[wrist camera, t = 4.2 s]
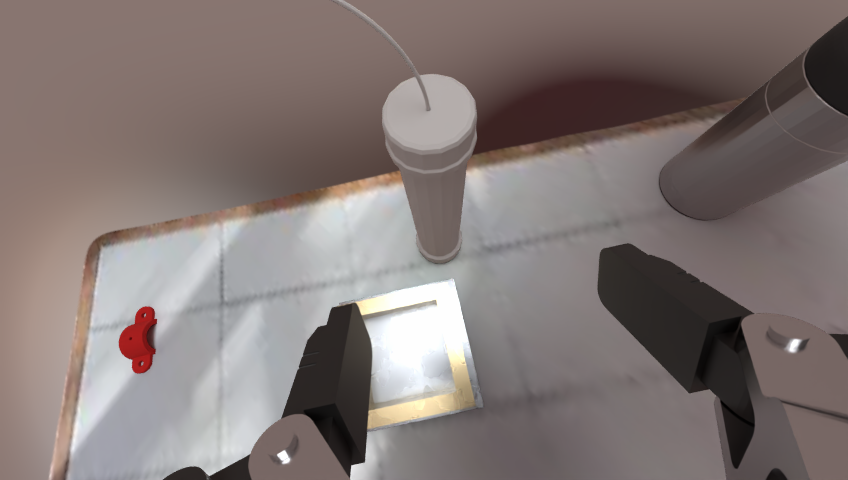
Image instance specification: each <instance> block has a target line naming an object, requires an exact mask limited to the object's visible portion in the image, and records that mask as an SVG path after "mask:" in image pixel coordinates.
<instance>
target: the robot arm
mask: <svg viewBox="0 0 848 480" xmlns="http://www.w3.org/2000/svg"><path fill="white" fill-rule="evenodd" d="M846 161H848V17H846V18H845V19H844V20H842V21H841V22H840V23H838V24H837V25H836V26H834V27H833V28H832V29H831V30H830V31H828V32H827V33H826V34H825V35H823V36H822V37H821V38H820V39H818V40H817V41H816V42H815V43H814V44H813V45H811V46H810V47H809V48H807V49H806V50H805V51H804V52H803V53H801V54H800V55H799V56H798V57H796V58H795V59H794V60H793V61H792V62H790V63H789V64H788V65H787V66H785V67H784V68H783V69H782V70H781V71H779V72H778V73H777V74H776V75H775V76H773V77H772V78H771V79H770V80H769V81H768V82H766V83H765V84H764V85H762V86H761V87H760V88H759V89H757V90H756V91H755V92H754V93H753V94H751V95H750V96H749V97H748V98H746V99H745V100H744V101H743V102H742V103H740V104H739V105H738V106H737V107H735V108H734V109H733V110H732V111H730V112H729V113H728V114H727V115H726V116H724V117H723V118H722V119H721V120H719V121H718V122H717V123H716V124H715V125H713V126H712V127H711V128H710V129H708V130H707V131H706V132H705V133H704V134H702V135H701V136H700V137H699V138H697V139H696V140H695V141H694V142H692V143H691V144H690V145H689V146H687V147H686V148H685V149H684V150H683V151H681V152H680V153H679V154H678V155H676V156H675V157H674V158H673V159H672V160H670V161H669V162H668V163H667V164H666V165H665V166H664V168H663V169H662V171H661V174H660V188H661V190H662V193H663V195H664V196H665V198H666V199H667V201H668V202H669V203H670V204H671V205H672V206H673V207H674V208H675V209H677V210H678V211H679V212H681V213H683V214H685V215H687V216H690V217H693V218H696V219H702V220H714V219H719V218H722V217H724V216H726V215H729V214H731V213H733V212H735V211H737V210H740V209H742V208H744V207H746V206H749V205H751V204H753V203H756V202H758V201H760V200H762V199H764V198H767V197H769V196H771V195H773V194H775V193H778V192H780V191H782V190H784V189H786V188H789V187H791V186H793V185H795V184H797V183H800V182H802V181H804V180H806V179H809V178H811V177H813V176H815V175H817V174H820V173H822V172H824V171H826V170H828V169H831V168H833V167H835V166H837V165H839V164H842V163H844V162H846ZM598 294H599V298H600V300H601V302H602V304H603V305H604V306H605V307H606V309H607V310H608V311H609V312H610V313H611V314H612V315H613V316H614V317H615V318H616V319H617V320H618V321H619V322H620V323H621V324H622V325H623V326H624V327H625V328H626V329H627V330H628V331H629V332H630V333H631V334H632V335H633V336H634V337H635V338H636V339H637V340H638V341H639V342H640V343H641V344H642V345H643V346H644V347H645V348H646V350H647V351H648V352H649V353H650V354H651V355H652V356H653V357H654V358H655V359H656V360H657V361H658V362H659V363H660V364H661V365H662V366H663V367H664V368H665V369H666V370H667V371H668V372H669V373H670V374H671V375H672V376H673V377H674V378H675V379H676V380H677V381H678V382H679V383H680V384H681V385H682V386H683V387H684V388H685V389H686V390H687V391H688V393H693V392H698V391H703V390H707V389H710V390H711V391H712V392H713V393H714V394H715V395H716V398H715V401H714V408H715V414H716V420H717V426H718V431H719V437H720V443H721V449H722V455H723V461H724V467H725V473H726V480H848V335H847V334H827V333H826V332H825V331H823V330H821V329H820V328H818V327H816V326H814V325H812V324H810V323H807V322H805V321H802V320H799V319H796V318H793V317H789V316H784V315H779V314H771V313H758V314H754V313H752V312H751V311H749V310H748V309H746V308H744V307H743V306H741V305H739V304H738V303H736V302H735V301H733V300H731V299H730V298H728V297H727V296H725V295H723V294H722V293H720V292H718V291H717V290H715V289H714V288H712V287H710V286H709V285H707V284H706V283H704V282H700V280H699V279H698V278H696V277H694V276H693V275H691V274H687V273H686V271H685V270H683V269H681V268H680V267H678V266H677V265H675V264H673V263H672V262H670V261H667V260H664V259H661V258H658V257H655V256H653V255H647V254H646V253H644V252H643V251H641V250H640V249H638V248H637V247H635V246H633V245H632V244H628V243H627V244H622V245H618V246H613V247H609V248H604V249H602V250H601V252H600V258H599V273H598ZM372 358H373V353H372V344H371V340H370V336H369V334H368V331H367V328H366V326H365V323H364V320H363V318H362V315H361V312H360V309H359V307H358V305H357V304H356V303H351V304H346V305H342V306H337V307H333V308H332V309H331V311H330V315H329V318H328V322H327V325H325V326H320V327H318V328H317V329H316V330H315V332H314V333H313V334H312V335H311V337H310V338H309V339H308V341H307V344H306V347H305V350H304V353H303V357H302V359H301V362H300V365H299V369H298V370H297V373H296V376H295V379H294V382H293V385H292V388H291V391H290V394H289V397H288V400H287V403H286V406H285V409H284V412H283V415H282V418H281V419H280V420H278V421H277V422H275V423H274V424H273V425H271V426H270V427H269V428H268V429H267V430H266V431H265V432H264V433H263V434H262V435H261V436H260V438H259V439H258V440H257V442H256V444H255V445H254V447H253V449H252V451H251V454H250V455H248V456H246V457H245V458H243V459H241V460H239V461H237V462H235V463H233V464H232V465H230V466H228V467H226V468H224V469H222V470H220V471H218V472H216V473H215V474H213V475H211V476H208V475H207V474H206V473H205V472H204V471H203V470H202V469H201V468H199V467H186V468H183V469H180V470H178V471H176V472H174V473H172V474H170V475H169V476H167V477H166V478H164V479H163V480H350V472H351V465H354V464H359V463H364V462H365V453H366V440H367V426H368V412H369V399H370V385H371V372H372Z"/></svg>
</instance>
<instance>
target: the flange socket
mask: <svg viewBox="0 0 848 480" xmlns="http://www.w3.org/2000/svg"><path fill="white" fill-rule="evenodd" d="M351 303H356V304H357V305H358V307H359V309H360V312H361V315H362V318H363V320H364V323H365V326H366V328H367V331H368V334H369V336H370V340H371V344H372V353H373V358H372V372H371V385H370V399H369V412H368V426H367V432H370V431H375V430H379V429H384V428H389V427H393V426H398V425H402V424H407V423H412V422H416V421H421V420H426V419H430V418H435V417H440V416H444V415H449V414H453V413H458V412H463V411H467V410H472V409H477V408H481V407H484V404H483V400H482V396H481V392H480V387H479V383H478V379H477V375H476V371H475V366H474V362H473V358H472V354H471V350H470V346H469V341H468V337H467V333H466V329H465V325H464V320H463V316H462V312H461V308H460V304H459V300H458V295H457V291H456V287H455V283H454V279H449V280H444V281H439V282H435V283H430V284H426V285H421V286H416V287H412V288H407V289H403V290H398V291H393V292H389V293H384V294H380V295H375V296H370V297H366V298H361V299H357V300H352V301H347V302H343V303H339V305H340V306H342V305H346V304H351Z"/></svg>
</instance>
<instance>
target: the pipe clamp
mask: <svg viewBox="0 0 848 480" xmlns="http://www.w3.org/2000/svg"><path fill="white" fill-rule="evenodd" d="M145 313H146V316H145V317H144V314H145ZM154 317H155V311H154V309H153V308H152V307H142V308H141V309H139V310H138V312H137V313H136V316H135V324H133V325H130V326H128V327H127V328H125V329H124V330H123V332H122V333H121V335H120V338H119V348H120V351H121V353H122V354H123V355H124V356H125V357H126V358H128V359H132V369H133V371H134V372H135V373H144V372H146V371H148V370H149V369H150V367H151V365H152V359H153V354H155V351H156V349H153V348H152V347H150V345H149V344H148V342H147V337H146V336H147V331H148V329H149V328H150V327H151V326H152V325H153V324H156V323H157V319H154ZM142 361H143V362H144V363H143V365H142V366H141V363H142Z"/></svg>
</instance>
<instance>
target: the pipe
mask: <svg viewBox="0 0 848 480" xmlns="http://www.w3.org/2000/svg"><path fill="white" fill-rule="evenodd" d="M331 1H333V2H335V3H337V4H339V5H341V6H342V7H344V8H345V9H347V10H349V11H350V12H352V13H354V14H355V15H356V16H358V17H359V18H361V19H363V20H364V21H365V22H366V23H368V24H369V25H370V26H372V27H373V28H374V29H375V30H376V31H378V32H379V33H380V34H381V35H382V36H383V37H384V38H385V39H386V40H387V41H388V42H389V43H390V44H391V45H392V46H393V47H394V48H395V49H396V50H397V51H398V53H399V54H400V55H401V56H402V57H403V59H404V60H405V61H406V63H407V64H408V66H409V67H410V69H411V70H412V72H413V74H414V76H415V77H413V78H411V79H409V80H406V81H404V82H402V83H401V84H399V85H398V86H397V87H396V88H395V89H394V90H393V91H392V92H391V93H390V94H389V96H388V98H387V100H386V103H385V104H384V107H383V109H382V126H383V129H384V132H385V136H386V147H387V150H388V152H389V154H390V156H391V158H392V160H393V162H394V164H396V165H397V166H398V167H399V169H400V172H401V176H402V180H403V183H404V187H405V190H406V194H407V198H408V201H409V205H410V209H411V212H412V216H413V219H414V223H415V227H416V230H417V235H416V240H417V246H418V248H419V250H420V252H421V253H422V255H423V256H424V257H425V258H426V259H427V260H428V261H431V262H434V263H446V262H448V261H450V260H452V259H453V258H454V257H455V256H456V255H457V253H458V251H459V249H460V246H461V243H462V235H461V231H460V222H461V213H462V204H463V195H464V186H465V176H466V167H467V161H468V160H469V158H470V157H471V155H472V152H473V150H474V146H475V144H476V139H477V134H476V122H477V113H476V106H475V100H474V99H473V97H472V96H471V94H470V93H469V91H468V90H467V88H466V87H465V86H464V85H462V84H461V83H459V82H458V81H456V80H454V79H453V78H451V77H446V76H442V75H437V74H429V75H419V74H418V72H417V70H416V69H415V67H414V65H413V63H412V62H411V61H410V59H409V58H408V56H407V55H406V54H405V52H404V51H403V50H402V49H401V47H400V46H399V45H398V44H397V43H396V42H395V40H394V39H393V38H392V37H391V36H390V35H389V34H388V33H387V32H386V31H385V30H384V29H382V28H381V27H380V26H379V25H378V24H376V23H375V22H374V21H373V20H372V19H370V18H369V17H368V16H366V15H365V14H364V13H362V12H361V11H359V10H358V9H357V8H355V7H354V6H352V5H350V4H348V3H347V2H345V1H344V0H331Z"/></svg>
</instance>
